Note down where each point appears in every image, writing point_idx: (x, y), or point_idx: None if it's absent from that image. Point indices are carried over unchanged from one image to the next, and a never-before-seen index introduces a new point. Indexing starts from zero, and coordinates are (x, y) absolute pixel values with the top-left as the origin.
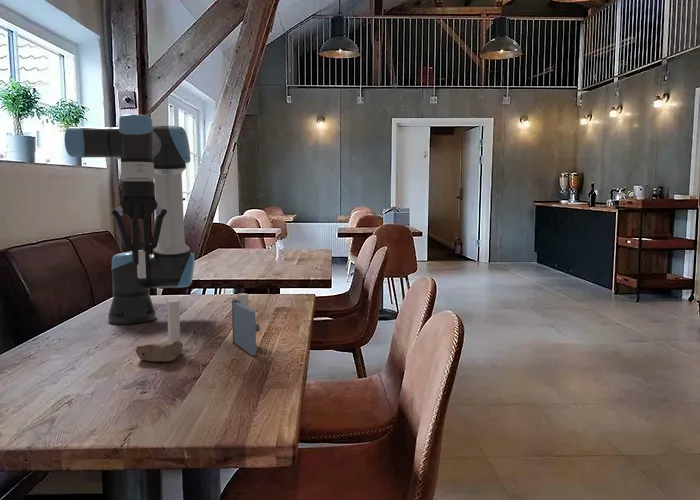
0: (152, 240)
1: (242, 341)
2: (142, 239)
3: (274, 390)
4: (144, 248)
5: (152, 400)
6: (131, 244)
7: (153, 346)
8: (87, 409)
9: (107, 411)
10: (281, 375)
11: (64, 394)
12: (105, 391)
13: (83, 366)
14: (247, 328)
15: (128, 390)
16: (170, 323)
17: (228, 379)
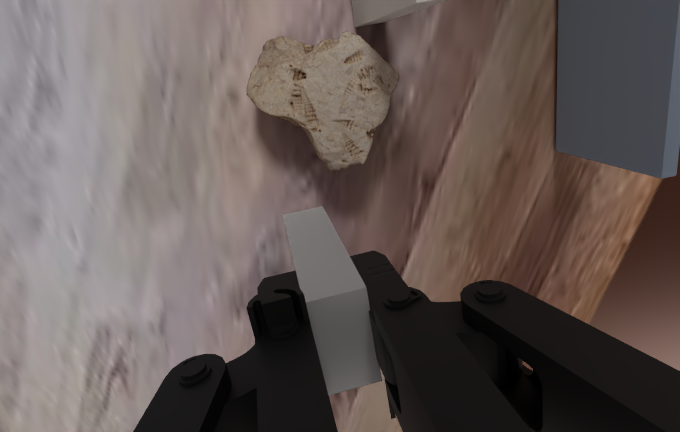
0: (515, 342)
1: (572, 70)
2: (405, 376)
3: None
4: (387, 392)
5: None
6: (257, 370)
7: (307, 130)
8: None
9: None
10: (558, 307)
11: (92, 320)
12: (190, 321)
13: (78, 79)
14: (610, 127)
15: (243, 326)
16: (385, 15)
17: None
